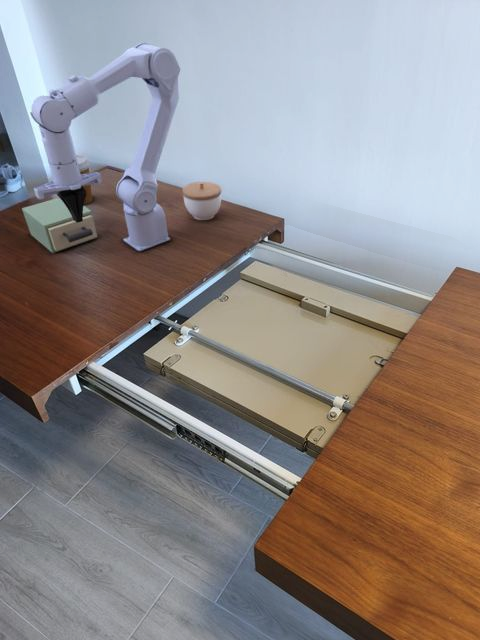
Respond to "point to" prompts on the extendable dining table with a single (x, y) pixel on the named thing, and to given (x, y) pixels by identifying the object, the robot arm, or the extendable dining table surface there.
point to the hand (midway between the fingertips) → (78, 220)
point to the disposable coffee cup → (84, 169)
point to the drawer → (72, 233)
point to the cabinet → (48, 220)
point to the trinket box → (202, 199)
